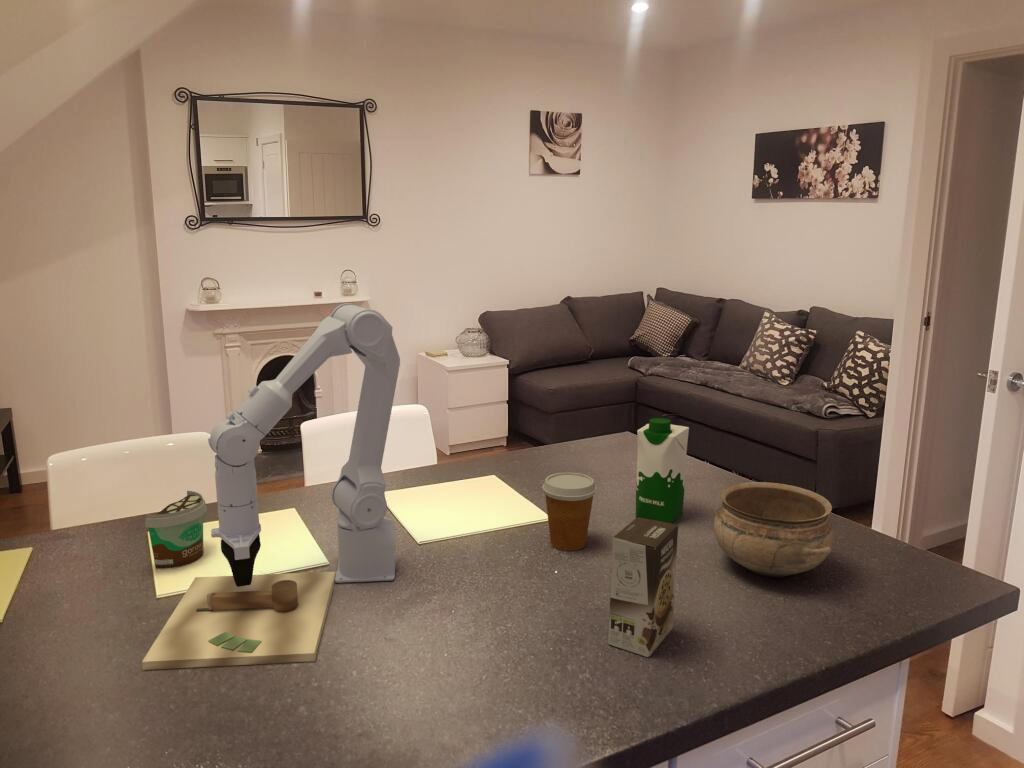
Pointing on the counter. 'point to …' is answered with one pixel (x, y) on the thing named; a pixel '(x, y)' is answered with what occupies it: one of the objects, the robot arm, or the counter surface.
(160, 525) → the food container
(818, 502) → the cooking pot
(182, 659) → the dial board
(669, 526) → the coffee box
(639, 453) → the milk carton
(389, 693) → the counter surface
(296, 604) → the tuning peg
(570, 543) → the disposable coffee cup
